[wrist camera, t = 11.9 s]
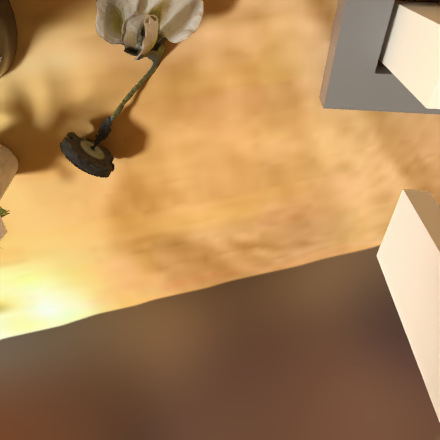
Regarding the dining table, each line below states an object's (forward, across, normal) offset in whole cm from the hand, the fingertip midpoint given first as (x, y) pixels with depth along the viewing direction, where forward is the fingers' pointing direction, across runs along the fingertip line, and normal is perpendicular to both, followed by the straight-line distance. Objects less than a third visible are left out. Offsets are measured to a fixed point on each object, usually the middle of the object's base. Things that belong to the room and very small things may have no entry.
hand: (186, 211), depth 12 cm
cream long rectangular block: (+32, +17, 0) cm, 36 cm away
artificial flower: (+32, -11, -5) cm, 34 cm away
